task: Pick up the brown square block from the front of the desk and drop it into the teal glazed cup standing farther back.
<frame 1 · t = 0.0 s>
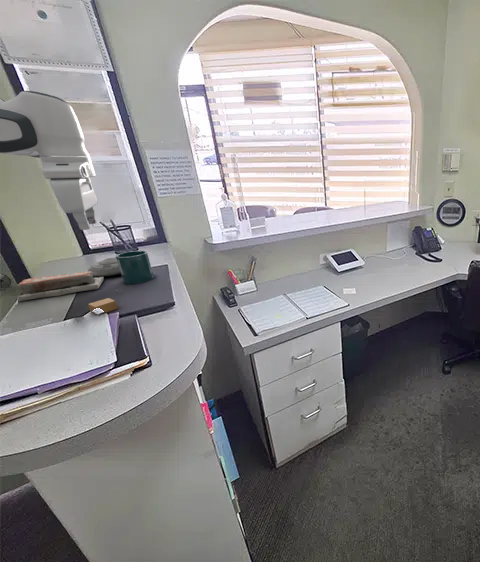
hand: (89, 226, 80), 21 cm above the table, tool pointing down, fingers open, 8 cm apart
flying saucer: (115, 272, 111), on the table
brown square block: (104, 310, 82), on the table
tea cup: (139, 279, 104), on the table
packaged product: (65, 290, 96), on the table
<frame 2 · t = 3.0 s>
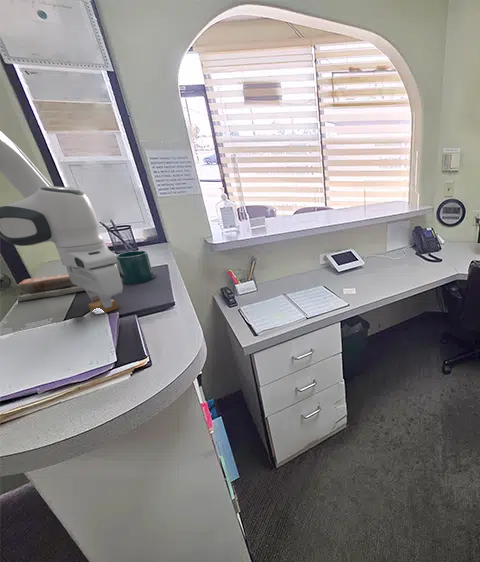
hand: (102, 305, 82), 2 cm above the table, tool pointing down, fingers closed on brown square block, 4 cm apart
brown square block: (104, 310, 82), on the table, touching gripper
everything else where it was.
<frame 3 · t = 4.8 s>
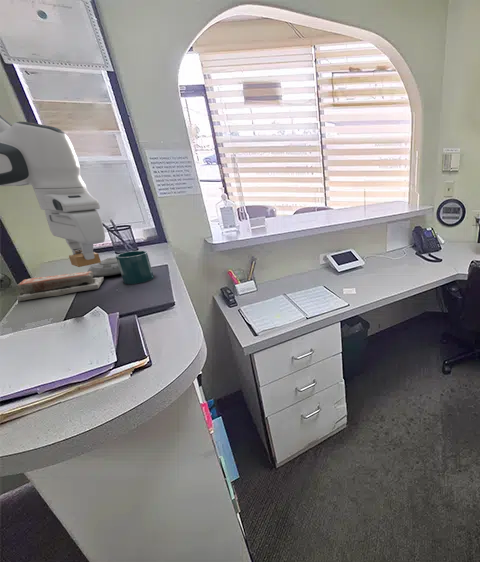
hand: (84, 257, 77), 15 cm above the table, tool pointing down, fingers closed on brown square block, 4 cm apart
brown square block: (86, 263, 77), point 13 cm above the table, touching gripper
everything else where it was.
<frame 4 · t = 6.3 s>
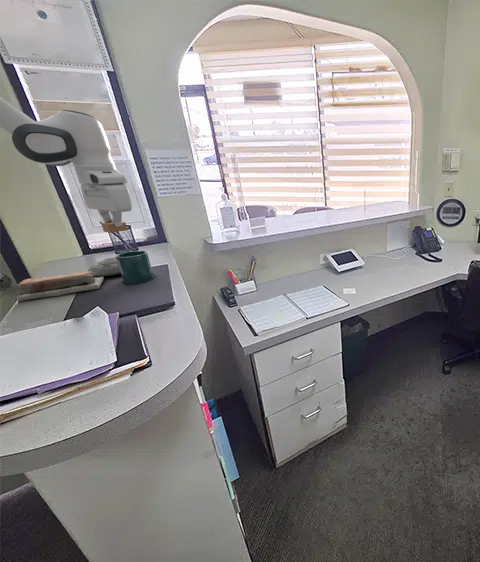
hand: (114, 225, 92), 19 cm above the table, tool pointing down, fingers closed on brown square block, 4 cm apart
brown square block: (115, 230, 92), point 18 cm above the table, touching gripper
everything else where it was.
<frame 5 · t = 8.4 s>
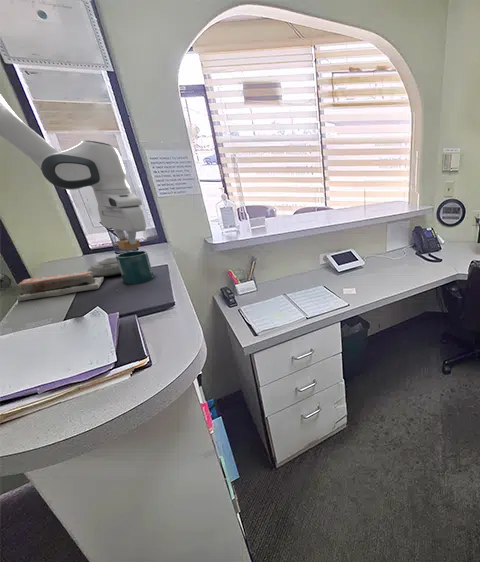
hand: (128, 243, 100), 13 cm above the table, tool pointing down, fingers closed on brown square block, 4 cm apart
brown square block: (130, 247, 100), point 11 cm above the table, touching gripper
everything else where it was.
when the fingers open (9 cm above the table, at t = 9.8 s): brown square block drops 7 cm, resting on tea cup.
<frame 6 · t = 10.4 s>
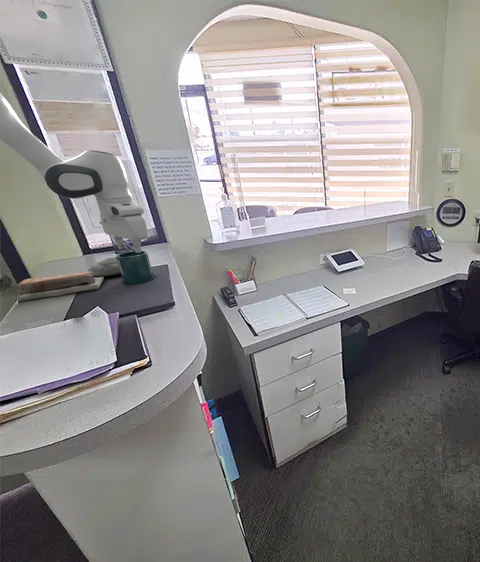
hand: (130, 250, 101), 10 cm above the table, tool pointing down, fingers open, 8 cm apart
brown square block: (138, 277, 104), point 1 cm above the table, touching tea cup
everything else where it was.
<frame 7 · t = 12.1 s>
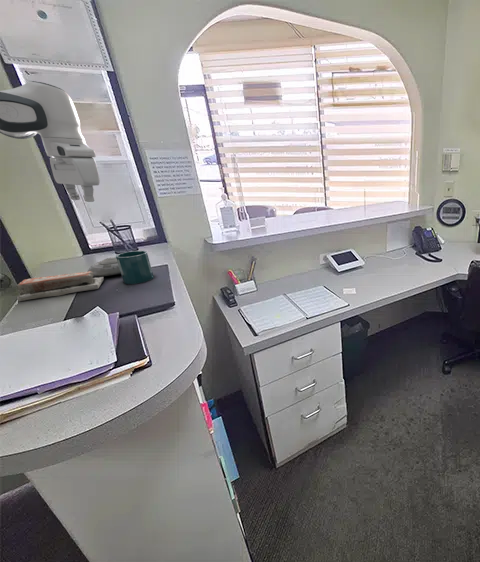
hand: (82, 200, 92), 26 cm above the table, tool pointing down, fingers open, 8 cm apart
nothing on the table moved.
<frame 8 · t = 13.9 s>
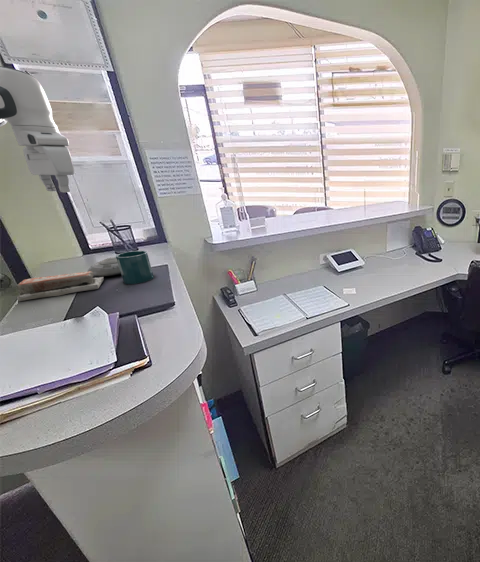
hand: (58, 191, 89), 29 cm above the table, tool pointing down, fingers open, 8 cm apart
nothing on the table moved.
at the end: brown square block 0.0 cm off-centre in the tea cup, point 0.6 cm above the tea cup's base; the gripper is holding nothing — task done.
